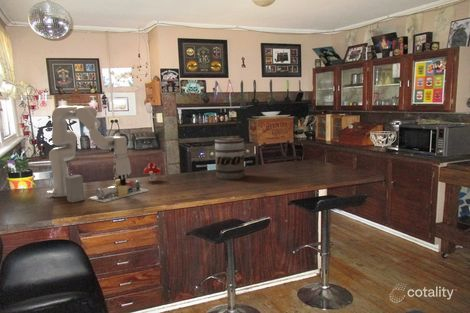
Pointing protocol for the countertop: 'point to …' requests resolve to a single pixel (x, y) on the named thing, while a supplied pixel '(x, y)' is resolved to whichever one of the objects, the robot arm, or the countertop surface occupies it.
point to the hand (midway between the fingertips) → (123, 185)
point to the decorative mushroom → (152, 171)
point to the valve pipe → (117, 192)
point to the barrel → (229, 158)
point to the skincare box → (74, 188)
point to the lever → (126, 182)
